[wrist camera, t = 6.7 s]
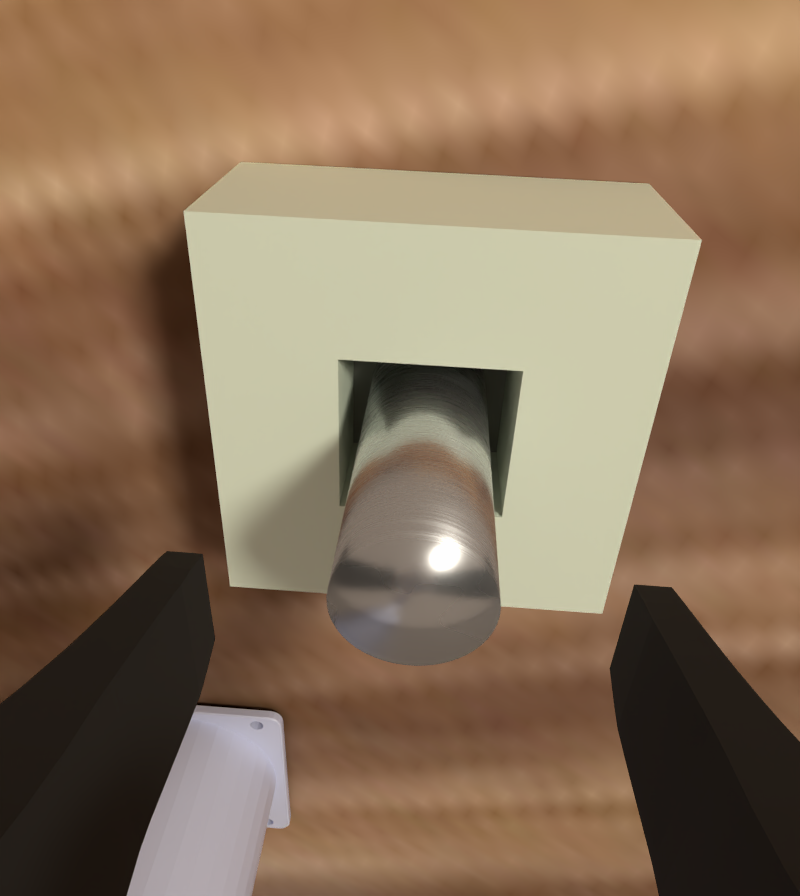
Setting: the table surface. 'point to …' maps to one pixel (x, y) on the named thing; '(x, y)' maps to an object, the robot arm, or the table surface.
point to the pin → (419, 520)
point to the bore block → (434, 352)
